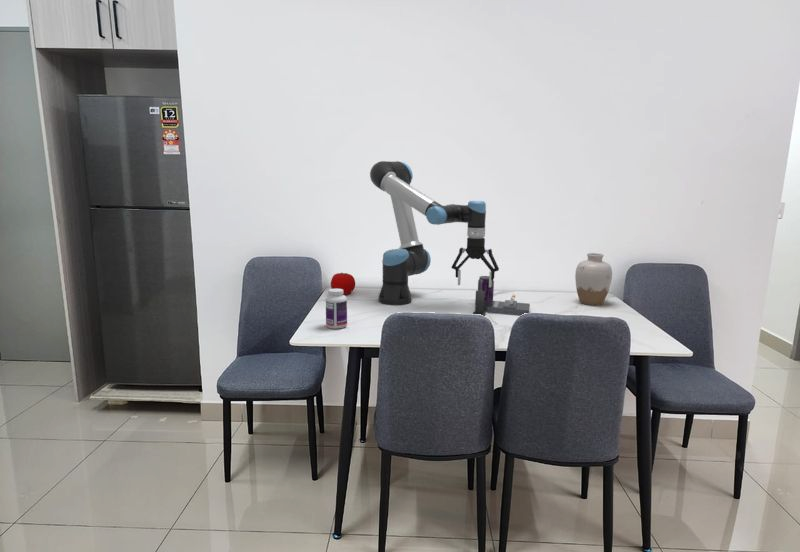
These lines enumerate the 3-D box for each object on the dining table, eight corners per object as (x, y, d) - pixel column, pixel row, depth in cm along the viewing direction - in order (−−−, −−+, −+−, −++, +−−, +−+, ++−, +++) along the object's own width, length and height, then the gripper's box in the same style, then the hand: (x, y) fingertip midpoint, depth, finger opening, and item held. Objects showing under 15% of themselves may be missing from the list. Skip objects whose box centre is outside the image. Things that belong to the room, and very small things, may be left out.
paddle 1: (510, 300, 231) (512, 295, 230) (510, 298, 234) (513, 294, 233) (512, 301, 231) (515, 296, 230) (513, 300, 233) (515, 295, 233)
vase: (577, 297, 258) (581, 250, 253) (612, 301, 250) (616, 253, 245) (569, 304, 244) (573, 254, 240) (605, 309, 236) (610, 258, 232)
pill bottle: (347, 323, 208) (347, 287, 206) (346, 329, 201) (346, 292, 198) (327, 323, 208) (326, 287, 205) (324, 329, 200) (324, 292, 197)
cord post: (472, 315, 223) (473, 292, 221) (473, 312, 228) (474, 289, 226) (484, 316, 221) (485, 293, 219) (486, 313, 226) (487, 290, 224)
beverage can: (492, 305, 240) (493, 279, 238) (476, 304, 242) (477, 278, 239) (493, 301, 247) (494, 276, 245) (477, 300, 248) (478, 275, 246)
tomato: (325, 293, 259) (325, 272, 257) (345, 289, 266) (345, 269, 264) (340, 297, 250) (340, 275, 248) (360, 294, 258) (360, 273, 256)
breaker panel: (475, 311, 229) (476, 303, 228) (479, 305, 240) (479, 297, 239) (528, 316, 223) (528, 308, 222) (529, 309, 234) (529, 301, 234)
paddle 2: (509, 303, 226) (512, 298, 225) (509, 301, 229) (512, 296, 228) (511, 304, 226) (514, 299, 225) (512, 302, 229) (515, 298, 228)
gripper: (445, 237, 228) (444, 285, 232) (504, 239, 222) (502, 289, 226) (449, 235, 236) (447, 282, 240) (506, 237, 229) (504, 285, 233)
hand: (474, 285), depth 233 cm, fingers open, 13 cm apart
